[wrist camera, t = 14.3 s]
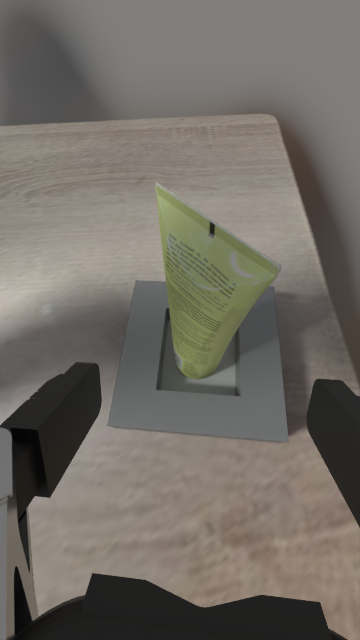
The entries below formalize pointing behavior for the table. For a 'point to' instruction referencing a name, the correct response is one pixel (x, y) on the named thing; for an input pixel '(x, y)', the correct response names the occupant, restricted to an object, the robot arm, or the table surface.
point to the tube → (206, 283)
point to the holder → (200, 394)
